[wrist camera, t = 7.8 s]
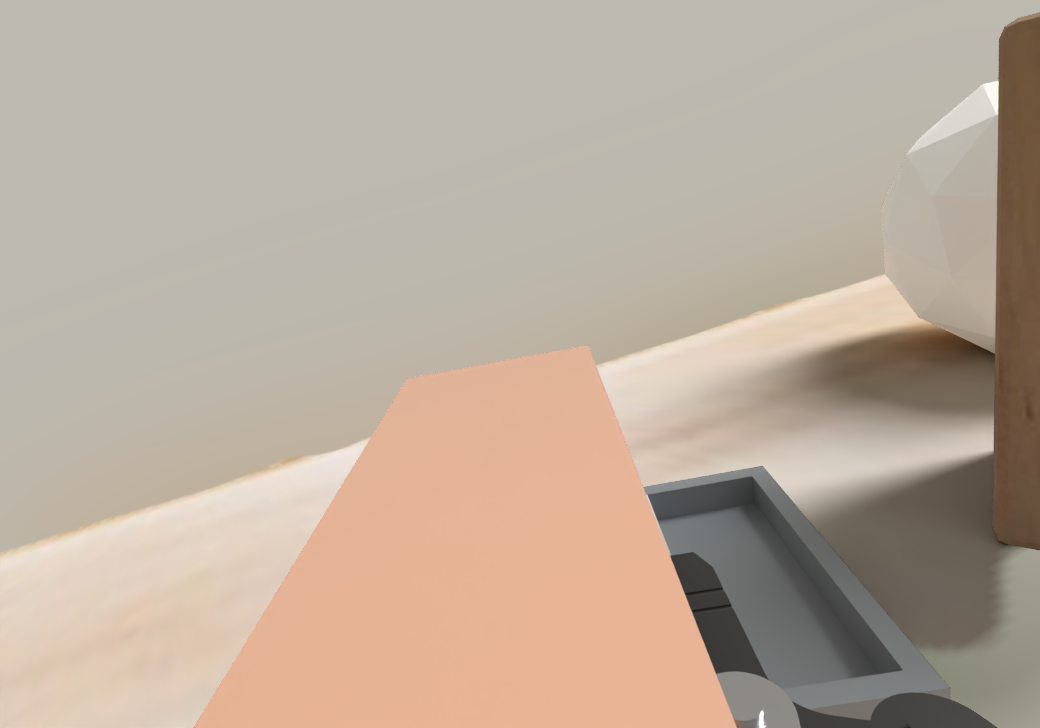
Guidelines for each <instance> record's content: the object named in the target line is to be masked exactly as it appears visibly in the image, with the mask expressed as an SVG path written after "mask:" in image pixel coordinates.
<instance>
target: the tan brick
mask: <svg viewBox="0 0 1040 728" xmlns="http://www.w3.org/2000/svg"><path fill="white" fill-rule="evenodd" d="M194 728H737V727H736V724H735V722H734V719H733V716H732V714H731V711H730V709H729V706H728V704H727V701H726V698H725V696H724V693H723V691H722V688H721V686H720V683H719V680H718V678H717V675H716V673H715V670H714V668H713V665H712V662H711V660H710V657H709V655H708V652H707V650H706V647H705V644H704V642H703V639H702V637H701V634H700V632H699V629H698V627H697V624H696V621H695V619H694V616H693V614H692V611H691V609H690V606H689V603H688V601H687V598H686V596H685V593H684V591H683V588H682V585H681V583H680V580H679V578H678V575H677V573H676V570H675V567H674V565H673V562H672V560H671V557H670V555H669V552H668V549H667V547H666V544H665V542H664V539H663V537H662V534H661V532H660V529H659V526H658V524H657V521H656V519H655V516H654V514H653V511H652V508H651V506H650V503H649V501H648V498H647V496H646V493H645V490H644V488H643V485H642V483H641V480H640V478H639V475H638V472H637V470H636V467H635V465H634V462H633V460H632V457H631V454H630V452H629V449H628V447H627V444H626V442H625V439H624V436H623V434H622V431H621V429H620V426H619V424H618V421H617V419H616V416H615V413H614V411H613V408H612V406H611V403H610V401H609V398H608V395H607V393H606V390H605V388H604V385H603V383H602V380H601V377H600V375H599V372H598V370H597V367H596V365H595V362H594V359H593V357H592V354H591V352H590V349H589V347H588V345H586V346H581V347H575V348H569V349H564V350H558V351H553V352H548V353H542V354H537V355H531V356H526V357H520V358H515V359H510V360H504V361H499V362H493V363H488V364H482V365H477V366H472V367H467V368H461V369H456V370H450V371H445V372H440V373H433V374H428V375H423V376H418V377H412V378H407V380H406V381H405V383H404V385H403V386H402V388H401V389H400V391H399V393H398V394H397V396H396V398H395V399H394V401H393V402H392V404H391V406H390V408H389V409H388V411H387V412H386V414H385V416H384V417H383V419H382V421H381V422H380V424H379V425H378V427H377V429H376V431H375V432H374V434H373V435H372V437H371V438H370V440H369V442H368V443H367V445H366V447H365V448H364V450H363V452H362V453H361V455H360V456H359V458H358V460H357V461H356V463H355V465H354V466H353V468H352V470H351V471H350V473H349V474H348V476H347V478H346V479H345V481H344V483H343V484H342V486H341V488H340V489H339V491H338V492H337V494H336V496H335V497H334V499H333V501H332V502H331V504H330V506H329V507H328V509H327V510H326V512H325V514H324V515H323V517H322V519H321V520H320V522H319V523H318V525H317V527H316V528H315V530H314V532H313V533H312V535H311V537H310V538H309V540H308V541H307V543H306V545H305V546H304V548H303V550H302V551H301V553H300V555H299V556H298V558H297V559H296V561H295V563H294V564H293V566H292V568H291V569H290V571H289V573H288V574H287V576H286V577H285V579H284V581H283V582H282V584H281V586H280V587H279V589H278V591H277V592H276V594H275V595H274V597H273V599H272V600H271V602H270V604H269V605H268V607H267V609H266V610H265V612H264V613H263V615H262V617H261V618H260V620H259V622H258V623H257V625H256V626H255V628H254V630H253V631H252V633H251V635H250V636H249V638H248V640H247V641H246V643H245V644H244V646H243V648H242V649H241V651H240V653H239V654H238V656H237V658H236V659H235V661H234V662H233V664H232V666H231V667H230V669H229V671H228V672H227V674H226V676H225V677H224V679H223V680H222V682H221V684H220V685H219V687H218V689H217V690H216V692H215V694H214V695H213V697H212V698H211V700H210V702H209V703H208V705H207V707H206V708H205V710H204V712H203V713H202V715H201V716H200V718H199V720H198V721H197V723H196V725H195V726H194Z"/></svg>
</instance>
